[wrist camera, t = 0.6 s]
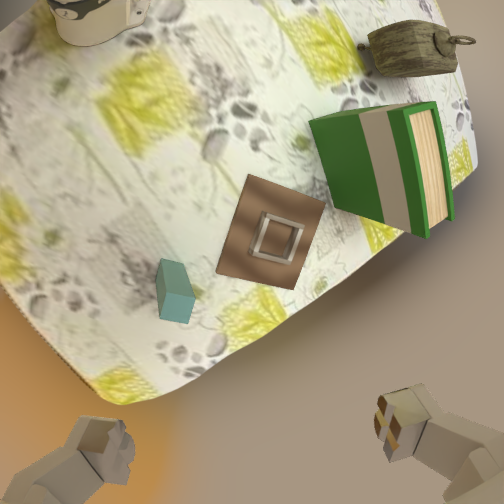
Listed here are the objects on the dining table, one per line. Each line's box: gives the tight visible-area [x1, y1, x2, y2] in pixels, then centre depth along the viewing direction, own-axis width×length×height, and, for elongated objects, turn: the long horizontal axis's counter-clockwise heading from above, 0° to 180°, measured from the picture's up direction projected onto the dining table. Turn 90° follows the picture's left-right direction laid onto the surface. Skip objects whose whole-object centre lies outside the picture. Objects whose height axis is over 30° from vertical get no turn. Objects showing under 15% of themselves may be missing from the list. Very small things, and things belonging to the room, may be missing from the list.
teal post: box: [156, 258, 196, 324], centre depth 46 cm, size 4×4×14 cm
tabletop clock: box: [358, 20, 476, 77], centre depth 42 cm, size 14×9×25 cm, turn 104°
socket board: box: [216, 174, 326, 290], centre depth 55 cm, size 18×16×4 cm
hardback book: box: [309, 101, 455, 239], centre depth 46 cm, size 18×7×24 cm, turn 21°
